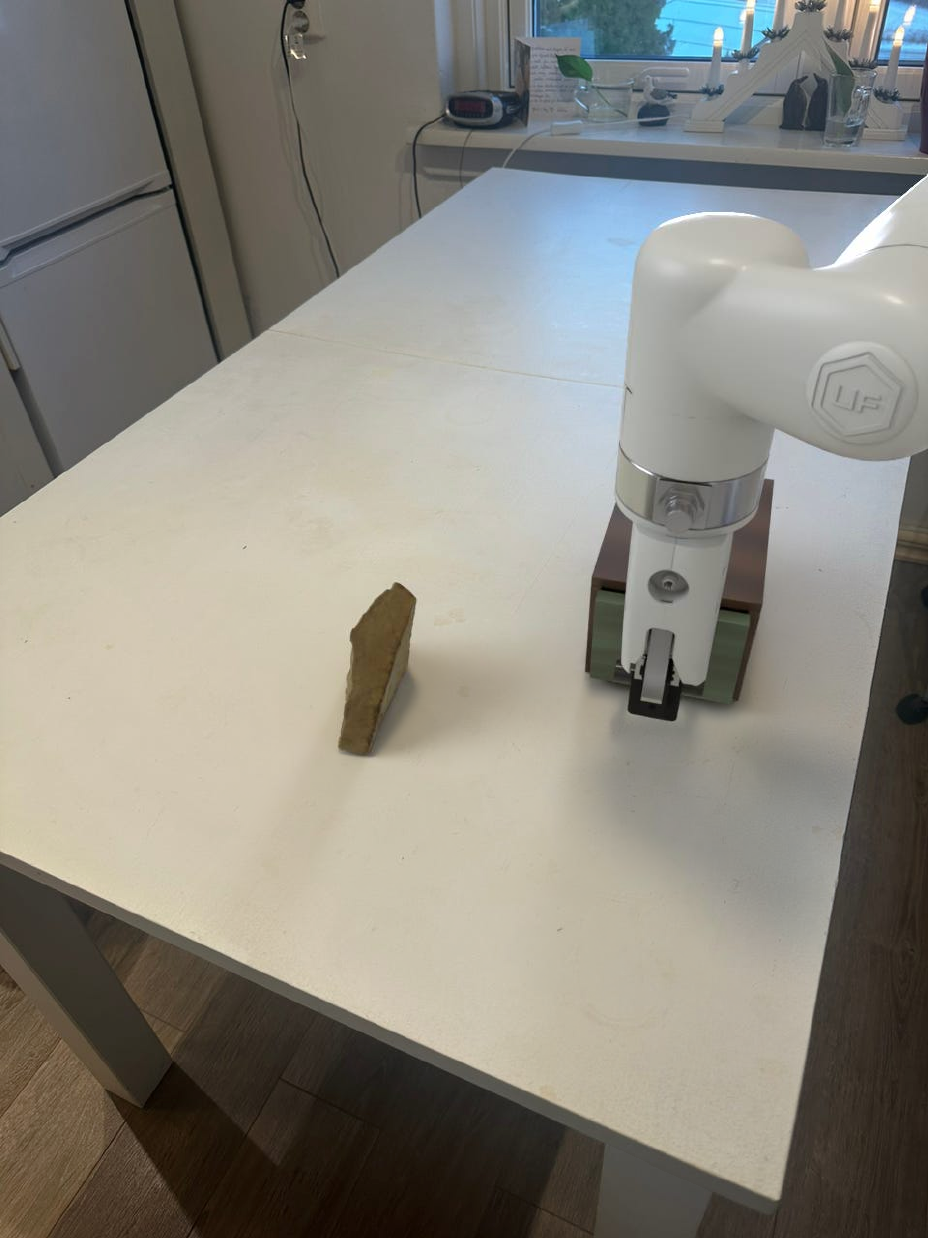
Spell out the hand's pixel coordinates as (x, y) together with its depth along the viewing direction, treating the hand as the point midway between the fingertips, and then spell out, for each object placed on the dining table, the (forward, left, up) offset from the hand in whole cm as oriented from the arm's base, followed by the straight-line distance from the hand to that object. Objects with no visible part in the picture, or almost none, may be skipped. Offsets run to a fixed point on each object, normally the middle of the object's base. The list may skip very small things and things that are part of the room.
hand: (653, 708), depth 58 cm
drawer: (0, -11, -4) cm, 12 cm away
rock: (+21, 0, -5) cm, 22 cm away
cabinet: (0, -15, -5) cm, 16 cm away
